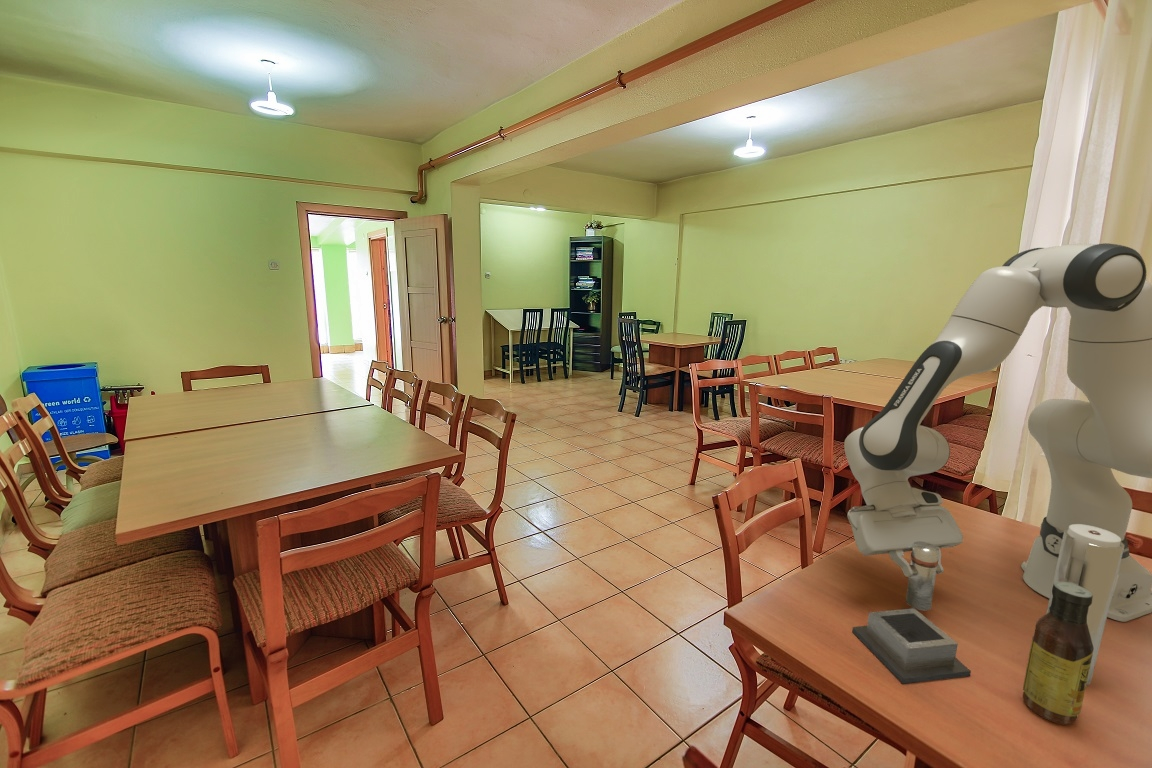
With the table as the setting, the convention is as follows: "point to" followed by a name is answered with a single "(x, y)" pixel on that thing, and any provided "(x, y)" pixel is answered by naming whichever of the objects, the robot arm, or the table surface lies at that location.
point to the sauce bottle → (1060, 656)
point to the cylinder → (922, 575)
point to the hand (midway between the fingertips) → (925, 574)
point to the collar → (911, 646)
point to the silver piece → (1090, 573)
